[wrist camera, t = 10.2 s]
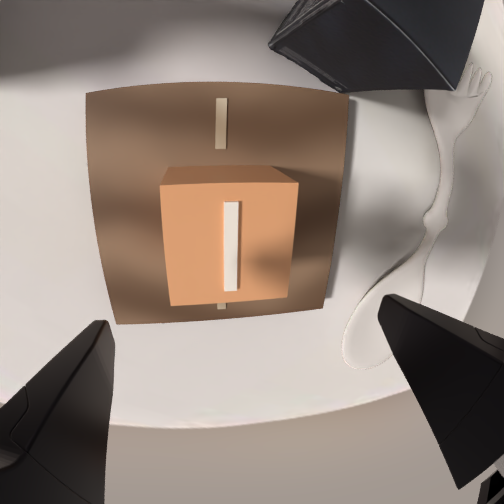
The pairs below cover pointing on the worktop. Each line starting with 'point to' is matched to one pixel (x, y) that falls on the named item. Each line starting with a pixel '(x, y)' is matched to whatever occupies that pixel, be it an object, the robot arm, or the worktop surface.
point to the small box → (380, 42)
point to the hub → (227, 233)
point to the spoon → (435, 220)
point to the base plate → (209, 154)
